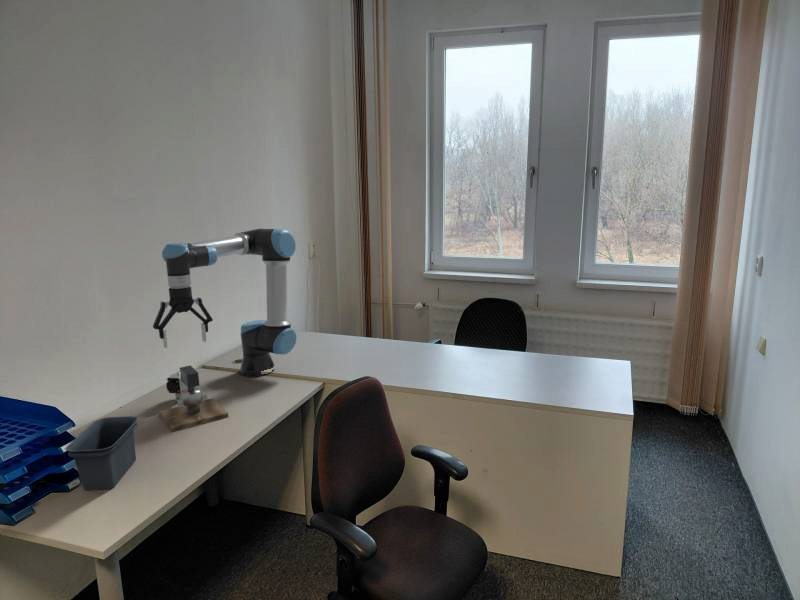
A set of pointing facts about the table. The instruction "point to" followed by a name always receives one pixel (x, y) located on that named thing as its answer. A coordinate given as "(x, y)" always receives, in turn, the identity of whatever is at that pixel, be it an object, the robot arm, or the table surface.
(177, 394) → the pneumatic valve
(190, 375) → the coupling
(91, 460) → the storage bin
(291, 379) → the table surface
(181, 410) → the base
